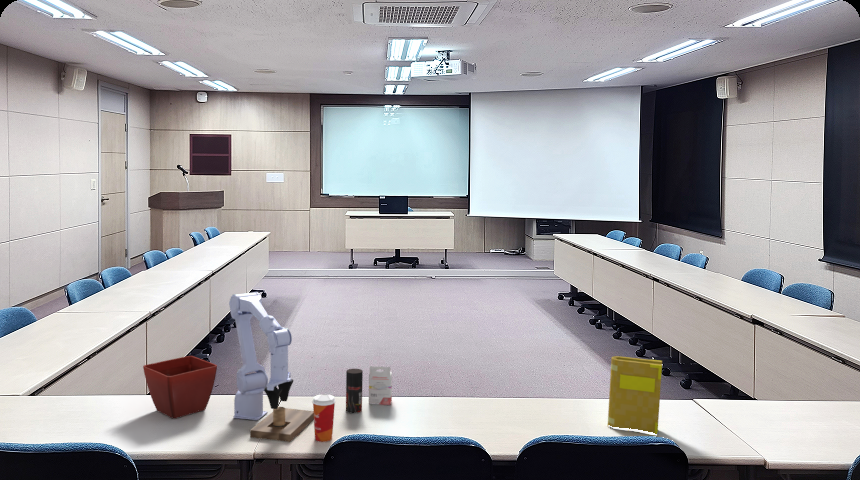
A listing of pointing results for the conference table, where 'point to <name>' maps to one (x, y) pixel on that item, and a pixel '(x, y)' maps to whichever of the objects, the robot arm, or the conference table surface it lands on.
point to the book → (634, 393)
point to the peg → (279, 418)
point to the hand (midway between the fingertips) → (279, 404)
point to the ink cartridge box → (380, 386)
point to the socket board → (293, 426)
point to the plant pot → (180, 385)
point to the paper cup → (323, 417)
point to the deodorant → (354, 390)
